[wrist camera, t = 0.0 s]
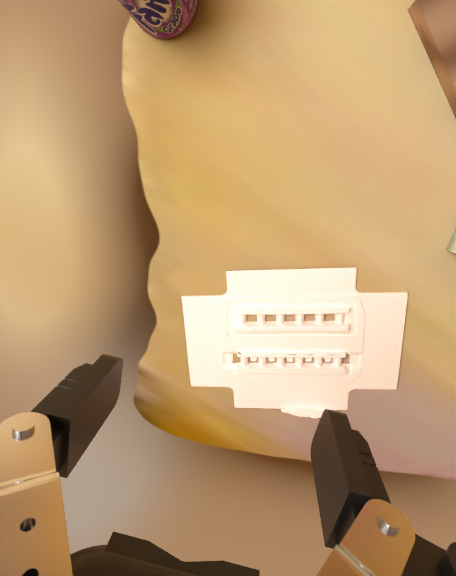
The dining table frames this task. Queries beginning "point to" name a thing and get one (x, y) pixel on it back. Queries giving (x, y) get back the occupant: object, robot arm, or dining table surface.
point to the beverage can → (161, 15)
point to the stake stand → (439, 40)
